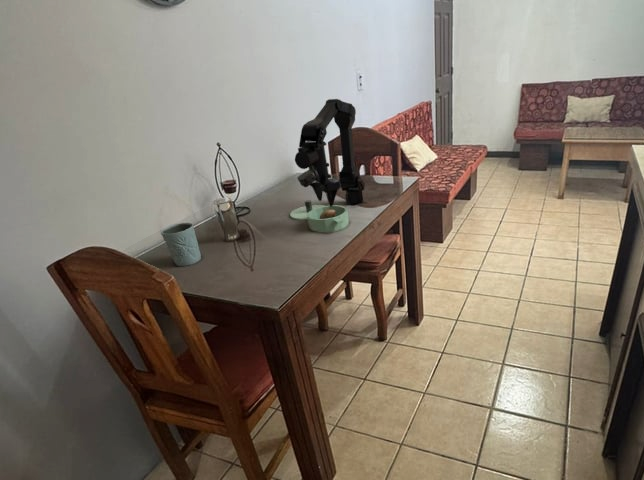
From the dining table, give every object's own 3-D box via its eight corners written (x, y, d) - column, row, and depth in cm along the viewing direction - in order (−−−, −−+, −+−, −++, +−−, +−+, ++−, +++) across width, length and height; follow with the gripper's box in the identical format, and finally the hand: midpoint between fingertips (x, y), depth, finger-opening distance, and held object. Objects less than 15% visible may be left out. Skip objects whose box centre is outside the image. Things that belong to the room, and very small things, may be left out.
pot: (334, 213, 173) (332, 201, 170) (359, 226, 158) (357, 213, 155) (300, 223, 166) (297, 211, 164) (323, 238, 151) (321, 224, 148)
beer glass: (225, 243, 155) (213, 204, 148) (222, 237, 161) (210, 200, 153) (244, 238, 158) (233, 200, 150) (240, 233, 163) (229, 195, 156)
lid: (319, 204, 184) (316, 192, 182) (336, 213, 172) (334, 200, 170) (284, 214, 177) (281, 201, 174) (300, 224, 165) (297, 210, 162)
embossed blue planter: (173, 269, 140) (159, 236, 134) (173, 258, 148) (161, 226, 142) (204, 261, 143) (193, 229, 137) (203, 251, 151) (192, 220, 145)
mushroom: (344, 213, 162) (333, 202, 158) (338, 227, 157) (325, 216, 154) (332, 220, 167) (320, 209, 164) (325, 234, 163) (313, 224, 160)
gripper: (287, 162, 153) (296, 203, 161) (308, 170, 139) (317, 215, 147) (314, 155, 158) (321, 196, 166) (338, 163, 144) (344, 206, 152)
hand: (325, 203), depth 158 cm, fingers open, 9 cm apart
